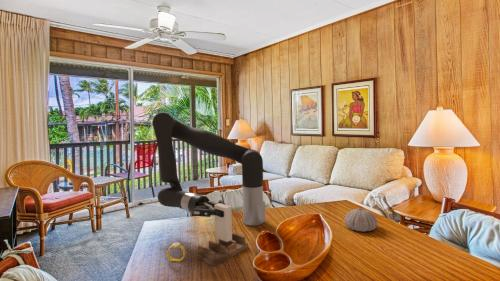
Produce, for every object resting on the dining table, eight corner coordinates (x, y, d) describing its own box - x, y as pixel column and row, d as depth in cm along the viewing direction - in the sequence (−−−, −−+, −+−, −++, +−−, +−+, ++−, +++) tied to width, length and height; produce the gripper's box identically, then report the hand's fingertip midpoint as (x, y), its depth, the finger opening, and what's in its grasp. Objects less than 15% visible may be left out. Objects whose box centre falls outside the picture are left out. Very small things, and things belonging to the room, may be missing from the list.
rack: (195, 257, 96) (194, 246, 96) (229, 239, 109) (228, 230, 109) (214, 266, 90) (214, 255, 89) (248, 247, 103) (248, 236, 102)
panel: (215, 237, 99) (214, 204, 98) (220, 235, 101) (219, 203, 100) (227, 242, 95) (226, 208, 94) (232, 239, 97) (231, 206, 96)
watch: (166, 263, 93) (165, 246, 92) (168, 258, 96) (168, 242, 95) (184, 262, 93) (183, 245, 92) (186, 258, 96) (185, 241, 95)
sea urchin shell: (343, 231, 114) (343, 212, 114) (345, 220, 127) (345, 203, 126) (378, 236, 109) (378, 216, 109) (376, 223, 122) (377, 206, 121)
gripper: (179, 198, 102) (211, 208, 91) (208, 190, 112) (239, 198, 101) (180, 218, 102) (211, 230, 91) (208, 208, 113) (240, 217, 102)
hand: (226, 213), depth 96 cm, fingers closed on panel, 2 cm apart
